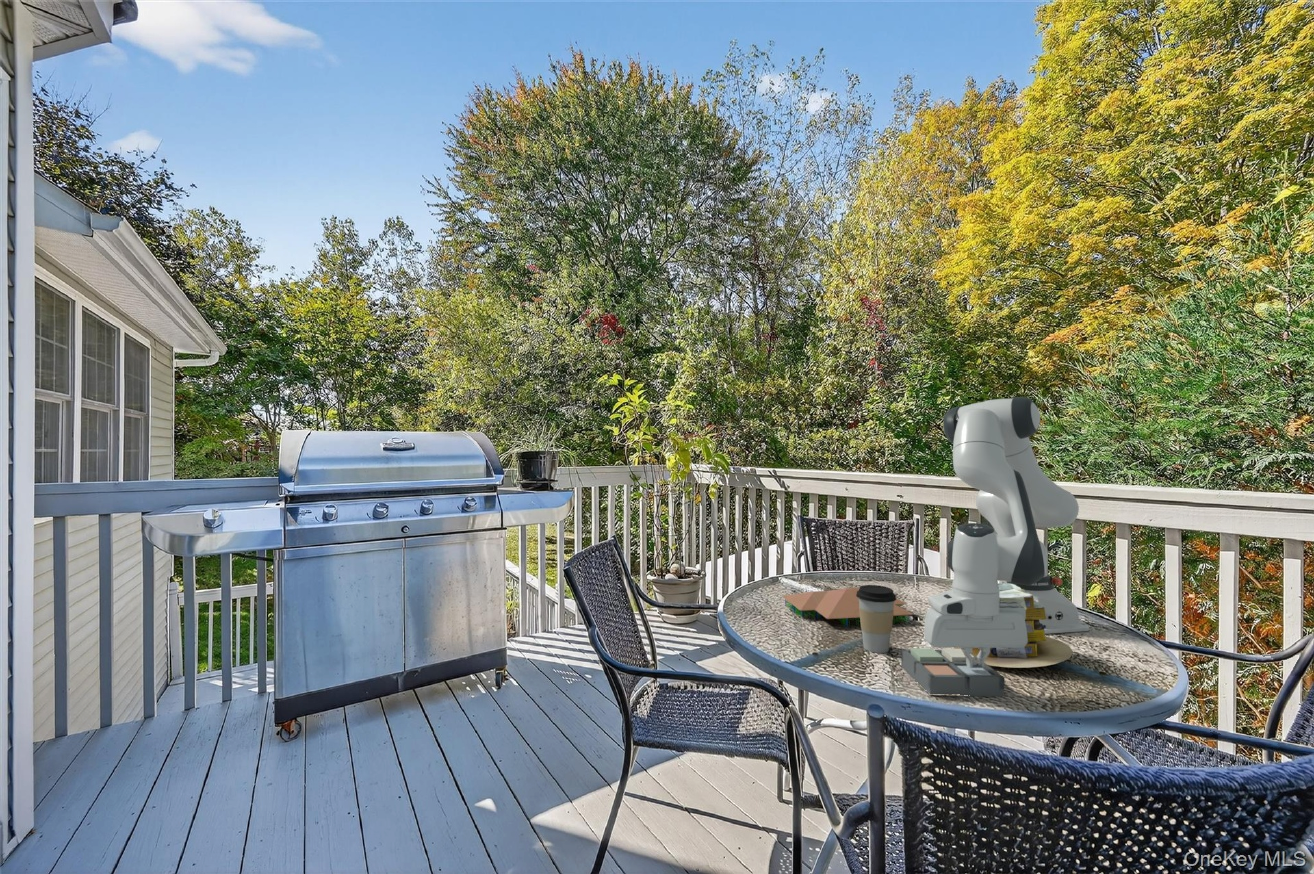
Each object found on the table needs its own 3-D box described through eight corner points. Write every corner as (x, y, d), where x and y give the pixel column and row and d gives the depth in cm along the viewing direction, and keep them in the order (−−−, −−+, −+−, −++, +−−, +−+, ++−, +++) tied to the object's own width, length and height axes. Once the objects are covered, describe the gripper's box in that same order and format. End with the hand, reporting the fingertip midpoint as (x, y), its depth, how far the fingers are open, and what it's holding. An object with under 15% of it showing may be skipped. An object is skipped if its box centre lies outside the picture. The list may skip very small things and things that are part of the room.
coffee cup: (895, 644, 149) (895, 585, 149) (897, 658, 140) (897, 595, 140) (855, 640, 152) (856, 582, 152) (855, 653, 143) (856, 592, 143)
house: (922, 625, 165) (922, 596, 165) (811, 631, 160) (812, 601, 160) (879, 601, 188) (880, 576, 187) (781, 606, 183) (781, 580, 183)
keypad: (967, 667, 134) (967, 649, 134) (1004, 696, 119) (1004, 677, 119) (901, 666, 135) (901, 649, 135) (930, 696, 120) (930, 676, 120)
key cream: (963, 657, 133) (963, 648, 133) (975, 666, 128) (975, 657, 128) (941, 657, 133) (941, 648, 133) (952, 666, 128) (952, 657, 128)
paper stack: (949, 663, 137) (949, 592, 137) (955, 632, 158) (955, 570, 158) (1078, 686, 125) (1079, 608, 124) (1065, 648, 146) (1066, 582, 146)
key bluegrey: (979, 675, 126) (980, 665, 126) (992, 685, 121) (992, 675, 121) (956, 674, 126) (956, 665, 126) (968, 685, 121) (968, 675, 121)
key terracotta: (947, 674, 126) (947, 665, 126) (958, 684, 121) (958, 675, 121) (923, 674, 126) (923, 665, 126) (934, 684, 121) (934, 675, 121)
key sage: (932, 657, 133) (932, 648, 133) (942, 666, 128) (942, 657, 128) (910, 657, 133) (910, 648, 133) (919, 665, 128) (919, 656, 128)
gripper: (1016, 597, 126) (1016, 661, 127) (920, 597, 127) (920, 660, 127) (1034, 606, 120) (1034, 673, 120) (934, 606, 120) (933, 672, 121)
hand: (975, 667), depth 124 cm, fingers closed
